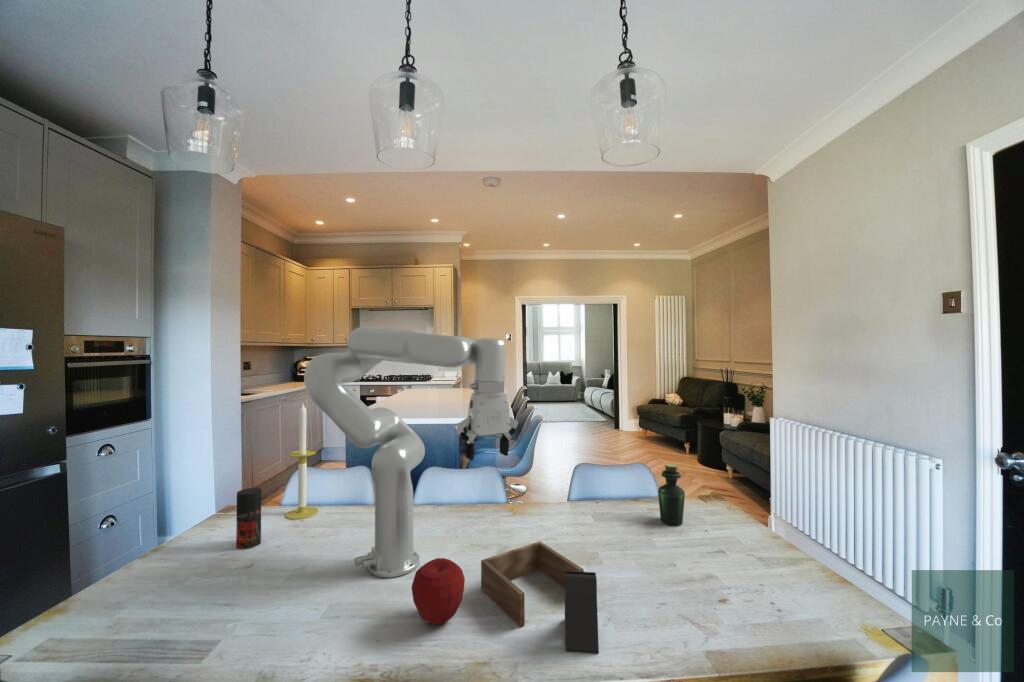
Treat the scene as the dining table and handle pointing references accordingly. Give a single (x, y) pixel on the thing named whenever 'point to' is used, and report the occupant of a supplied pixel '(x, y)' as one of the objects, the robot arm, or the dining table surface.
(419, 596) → the apple
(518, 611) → the open box
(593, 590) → the phone stand
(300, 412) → the candle
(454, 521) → the dining table surface
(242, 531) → the deodorant
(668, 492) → the potion bottle
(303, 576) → the dining table surface
